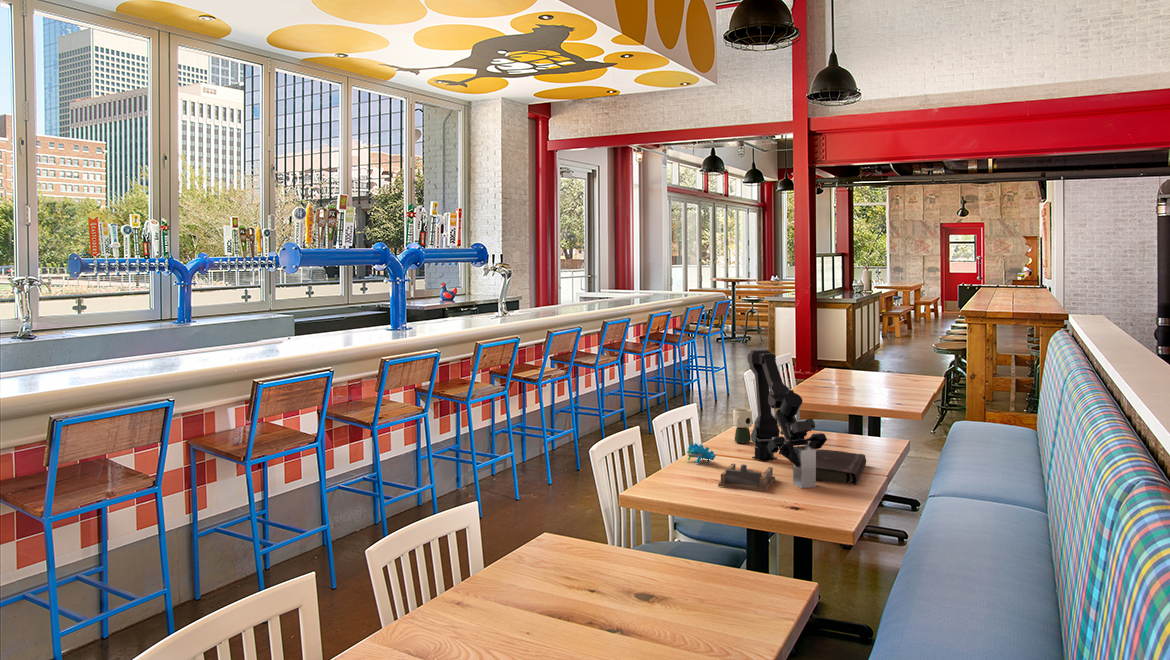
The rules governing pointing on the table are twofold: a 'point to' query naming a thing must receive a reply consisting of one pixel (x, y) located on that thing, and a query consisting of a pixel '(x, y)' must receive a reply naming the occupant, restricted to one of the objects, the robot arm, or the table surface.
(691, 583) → the table surface
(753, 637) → the table surface
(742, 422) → the character mug
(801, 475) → the steel link block
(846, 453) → the diary
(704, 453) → the blue spiky toy dinosaur
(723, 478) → the keeper cradle
